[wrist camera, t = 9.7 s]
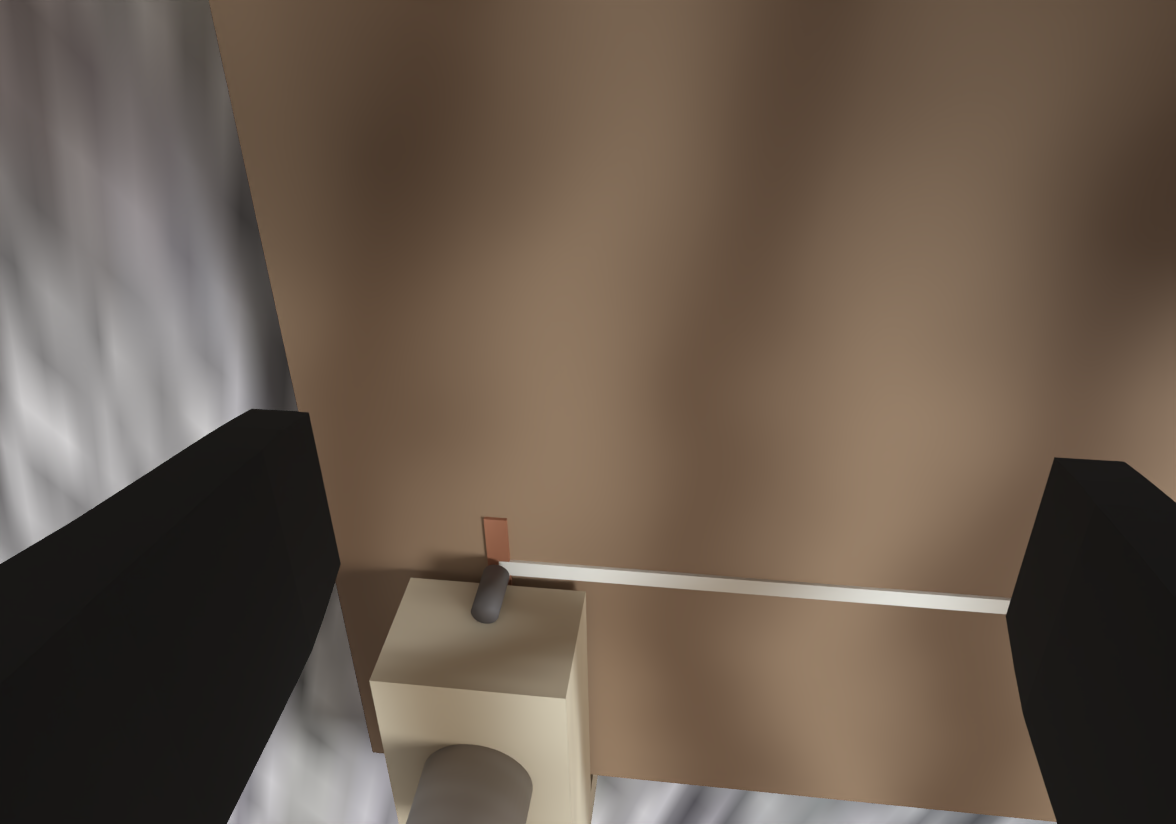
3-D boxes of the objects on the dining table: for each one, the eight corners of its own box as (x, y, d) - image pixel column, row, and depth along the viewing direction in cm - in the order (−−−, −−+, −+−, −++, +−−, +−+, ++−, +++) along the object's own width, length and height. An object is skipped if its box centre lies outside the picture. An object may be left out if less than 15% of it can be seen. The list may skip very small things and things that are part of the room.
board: (1370, -79, 15) (1451, -57, 13) (1049, 755, 26) (1071, 826, 24) (248, -78, 17) (193, -59, 15) (394, 693, 28) (371, 754, 26)
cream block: (594, 521, 23) (515, 934, 15) (598, 765, 28) (541, 1171, 20) (427, 509, 23) (264, 903, 15) (461, 751, 28) (351, 1143, 20)
